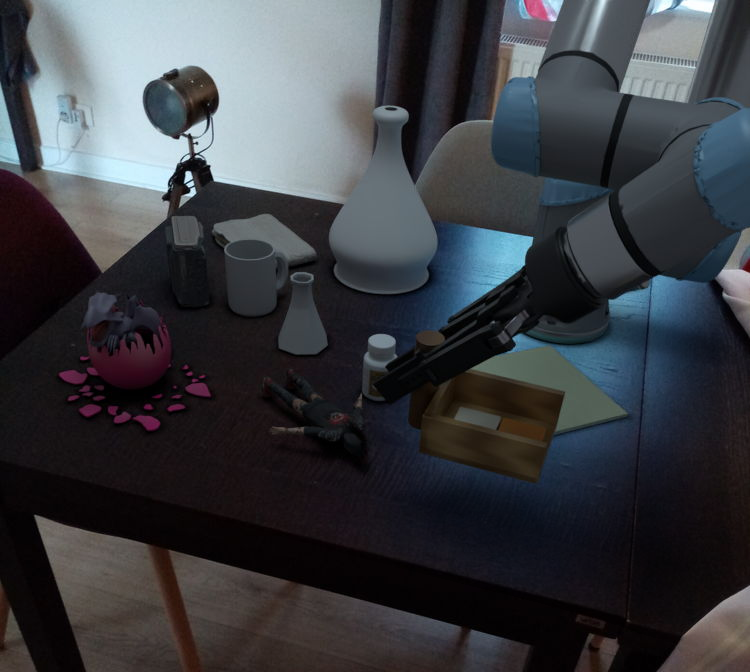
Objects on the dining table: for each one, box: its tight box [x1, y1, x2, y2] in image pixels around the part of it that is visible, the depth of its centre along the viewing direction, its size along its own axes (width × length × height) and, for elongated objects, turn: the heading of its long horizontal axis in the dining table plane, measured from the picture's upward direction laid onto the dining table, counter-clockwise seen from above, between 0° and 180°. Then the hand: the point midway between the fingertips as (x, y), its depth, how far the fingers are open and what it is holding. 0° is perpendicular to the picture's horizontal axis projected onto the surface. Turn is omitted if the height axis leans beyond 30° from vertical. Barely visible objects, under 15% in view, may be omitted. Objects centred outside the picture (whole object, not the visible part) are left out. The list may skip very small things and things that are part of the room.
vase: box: [328, 105, 439, 295], centre depth 120 cm, size 17×17×25 cm
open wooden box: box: [407, 329, 565, 485], centre depth 77 cm, size 15×10×10 cm
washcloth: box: [211, 213, 318, 270], centre depth 132 cm, size 12×18×3 cm, turn 34°
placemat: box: [439, 344, 629, 436], centre depth 103 cm, size 20×18×1 cm
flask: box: [277, 271, 329, 355], centre depth 107 cm, size 7×7×10 cm
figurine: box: [261, 367, 373, 467], centre depth 94 cm, size 13×6×20 cm
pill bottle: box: [361, 333, 398, 402], centre depth 100 cm, size 4×4×8 cm
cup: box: [223, 239, 289, 318], centre depth 116 cm, size 7×10×9 cm
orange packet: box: [498, 418, 546, 442], centre depth 78 cm, size 4×3×1 cm
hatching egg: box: [58, 290, 212, 432], centre depth 96 cm, size 20×16×14 cm
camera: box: [163, 215, 210, 309], centre depth 117 cm, size 11×6×10 cm, turn 12°
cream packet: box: [454, 407, 501, 430], centre depth 79 cm, size 4×3×1 cm
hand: (388, 383), depth 80 cm, fingers closed on open wooden box, 3 cm apart
